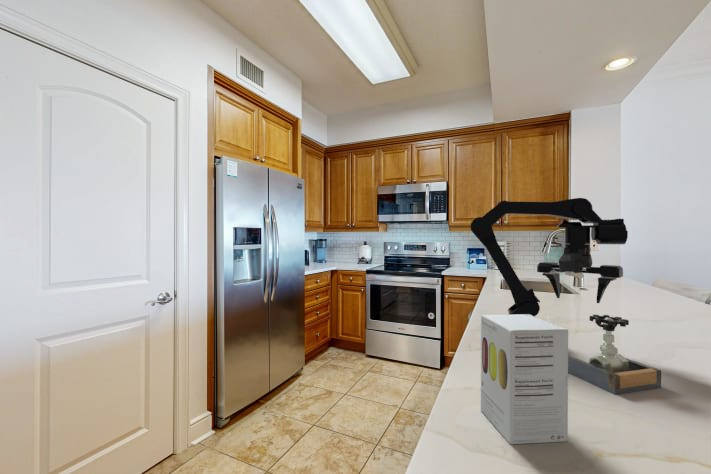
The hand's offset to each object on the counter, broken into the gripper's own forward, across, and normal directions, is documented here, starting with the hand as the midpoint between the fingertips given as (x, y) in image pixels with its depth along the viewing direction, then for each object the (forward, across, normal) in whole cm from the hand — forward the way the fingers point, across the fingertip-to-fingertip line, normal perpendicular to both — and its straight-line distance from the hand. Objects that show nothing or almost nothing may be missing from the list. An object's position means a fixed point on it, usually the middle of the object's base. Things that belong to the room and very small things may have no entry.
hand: (577, 300), depth 86 cm
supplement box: (+13, +4, -50) cm, 52 cm away
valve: (+12, +10, -18) cm, 24 cm away
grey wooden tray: (+13, +10, -18) cm, 24 cm away
